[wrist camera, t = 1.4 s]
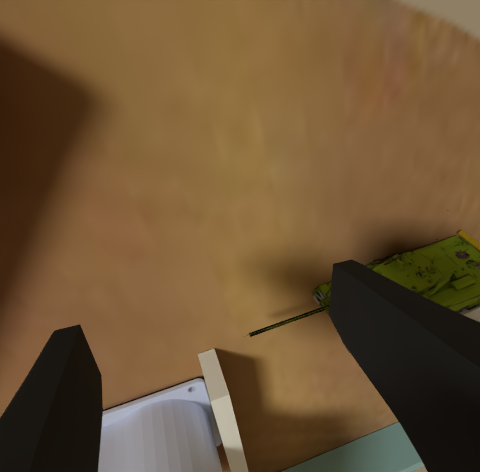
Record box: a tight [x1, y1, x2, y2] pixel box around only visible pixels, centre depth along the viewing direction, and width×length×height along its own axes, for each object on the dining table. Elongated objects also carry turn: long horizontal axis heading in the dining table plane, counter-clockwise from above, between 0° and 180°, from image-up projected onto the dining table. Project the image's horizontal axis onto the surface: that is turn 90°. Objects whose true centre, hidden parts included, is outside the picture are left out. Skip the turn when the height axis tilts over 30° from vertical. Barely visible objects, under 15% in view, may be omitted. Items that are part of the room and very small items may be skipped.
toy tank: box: [243, 210, 480, 353], centre depth 23 cm, size 7×19×10 cm
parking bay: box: [198, 308, 480, 472], centre depth 30 cm, size 24×20×4 cm
